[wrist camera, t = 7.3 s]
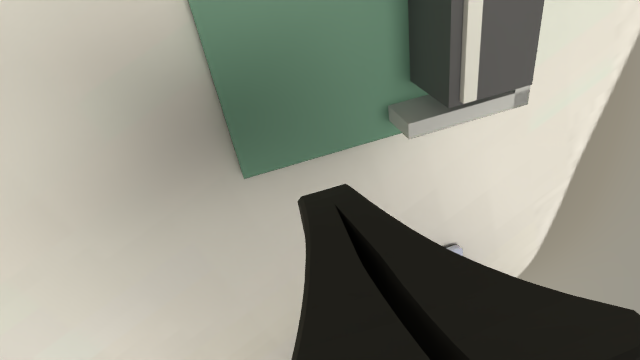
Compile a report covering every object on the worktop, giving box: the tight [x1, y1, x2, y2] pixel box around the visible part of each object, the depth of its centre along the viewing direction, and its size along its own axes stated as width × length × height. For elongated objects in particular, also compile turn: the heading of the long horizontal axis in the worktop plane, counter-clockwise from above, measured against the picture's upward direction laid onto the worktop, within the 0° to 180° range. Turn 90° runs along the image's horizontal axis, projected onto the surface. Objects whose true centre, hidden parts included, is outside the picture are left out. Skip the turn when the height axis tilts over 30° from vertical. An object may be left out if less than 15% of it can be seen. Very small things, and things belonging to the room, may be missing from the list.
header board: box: [188, 0, 530, 179], centre depth 18 cm, size 11×15×4 cm
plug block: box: [408, 0, 544, 108], centre depth 18 cm, size 5×4×4 cm
